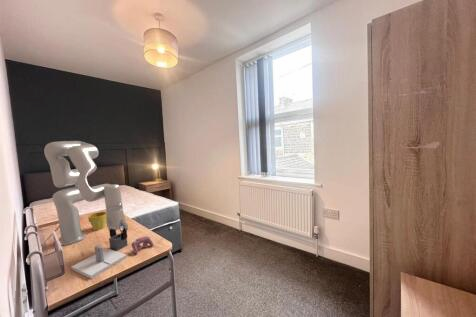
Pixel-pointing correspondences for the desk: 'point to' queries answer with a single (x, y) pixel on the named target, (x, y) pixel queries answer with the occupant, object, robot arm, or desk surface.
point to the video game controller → (136, 243)
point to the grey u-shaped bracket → (117, 242)
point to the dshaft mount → (98, 262)
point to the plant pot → (97, 220)
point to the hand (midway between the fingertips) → (118, 237)
